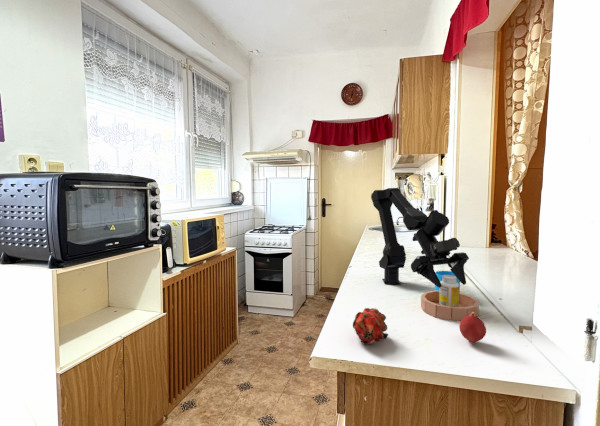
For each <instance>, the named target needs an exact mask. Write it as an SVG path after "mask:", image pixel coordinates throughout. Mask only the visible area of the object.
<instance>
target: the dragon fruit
mask: <svg viewBox="0 0 600 426" xmlns="http://www.w3.org/2000/svg"><path fill="white" fill-rule="evenodd" d="M381 312H382V311H381ZM381 312H380V311H379V309H378V308H375V307H374V308H370V307H365V308H364V309H363V310H362V311H358V312H357V313H356V314H355V316H354V320H353V322H352V328H353V330H354V331H355V333H356V335H357V336H358V339H359V340H360V342H361V343H362V344H363V345H364V346H366V345H367V344H370V345H371V344H372V345H373V344H376V342H380V341H382V340H386V339H387V338H388V337H389V334H388V333H387V332H386V331H387V330H388V325H387V324H386V322H385V320H386V319H387V317H386V315H385V314H384V313H381Z"/></svg>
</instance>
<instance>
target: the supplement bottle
mask: <svg viewBox="0 0 600 426" xmlns="http://www.w3.org/2000/svg"><path fill="white" fill-rule="evenodd" d="M456 281H457V280H456V276H453V275H443V278H442V281H441V282H440V283H441V285H442V286H441V287H440V291H439V305H444V306H449V307H459V284H458V283H457V282H456Z"/></svg>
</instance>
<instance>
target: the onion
mask: <svg viewBox="0 0 600 426" xmlns="http://www.w3.org/2000/svg"><path fill="white" fill-rule="evenodd" d="M459 331H460V333H461V335H462V337H463V338H464V339H466V341H468V342H469V343H470V344H473V345H474V344H476V343H478V342H479V341H481V340H483V339H484V338H485V336H486V334H487V327H486V325H485V323H484V321H483V320H482V319H481V318H480V317H479V316H478V317H477V316H476V315H475V313H474V312H472V313H471V314H469V315H467V316H465V317H464V318H463V319H462V321H459Z"/></svg>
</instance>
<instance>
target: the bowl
mask: <svg viewBox="0 0 600 426" xmlns="http://www.w3.org/2000/svg"><path fill="white" fill-rule="evenodd" d="M420 308H421V309H422V311H423V312H424V313H425V314H427V315H429V316H431V317H433V318H436V319H439V320H443V321H447V322H448V321H449V322H461V321H462V319H463V318H464V317H465V316H467V315H469V314H471V313H472V312H474V313H475V315H476V316H477V317H478V318H479V313H480V301H479V300H478V299H477V298H475V297H473V296H471V295H468V294H465V293H462V292H460V293H459V307H449V306H444V305H439V291H435V290H430V291H425V292H423V294H421V296H420Z"/></svg>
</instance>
